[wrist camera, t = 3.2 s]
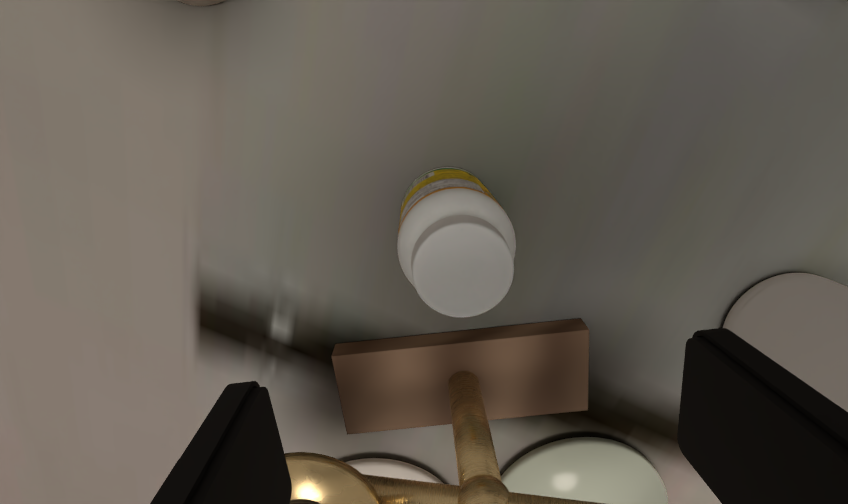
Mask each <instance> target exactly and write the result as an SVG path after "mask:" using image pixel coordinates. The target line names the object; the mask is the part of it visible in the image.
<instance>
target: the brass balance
mask: <svg viewBox="0 0 848 504" xmlns="http://www.w3.org/2000/svg"><path fill="white" fill-rule="evenodd" d="M331 357H332V362H333V367H334V372H335V377H336V381H337V386H338V391H339V396H340V401H341V406H342V411H343V416H344V421H345V426H346V431H347V434H355V433H365V432H375V431H385V430H395V429H405V428H415V427H425V426H434V425H444V424H452V425H453V434H454V443H455V451H456V460H457V469H458V477H459V486H456V485H448V484H440V483H432V482H423V481H415V480H407V479H399V478H390V477H382V476H374V475H366V474H361V473H360V472H359V471H358V470H356V469H355V468H353V467H352V466H350V465H349V464H347V463H345V462H343V461H341V460H338V459H335V458H333V457H329V456H326V455H322V454H316V453H306V452H296V453H286V454H284V455H285V458H286V462H287V466H288V470H289V474H290V478H291V483H292V494H291V500H290V503H289V504H605V503H597V502H589V501H580V500H572V499H564V498H556V497H547V496H539V495H531V494H523V493H514V492H509V490H508V488H507V487H506V486H505V485H504V484H503V483H502V481H501V476H500V472H499V468H498V463H497V459H496V454H495V450H494V446H493V441H492V437H491V432H490V428H489V424H488V420H494V419H504V418H514V417H524V416H534V415H544V414H554V413H563V412H573V411H583V410H588V375H589V329H588V327H587V326H586V325H585V323H584V322H583V321H582V319H581V318H579V319H569V320H560V321H550V322H541V323H531V324H521V325H512V326H502V327H493V328H483V329H473V330H464V331H454V332H445V333H435V334H425V335H416V336H406V337H397V338H387V339H377V340H368V341H358V342H349V343H339V344H335V347H334V350H333V353H332V356H331Z"/></svg>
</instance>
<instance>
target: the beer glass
mask: <svg viewBox="0 0 848 504" xmlns="http://www.w3.org/2000/svg"><path fill="white" fill-rule="evenodd" d="M176 1H178V2H181V3H184V4H188V5H193V6H209V5H214V4H218V3H221V2H223V1H225V0H176Z"/></svg>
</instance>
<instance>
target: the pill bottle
mask: <svg viewBox="0 0 848 504" xmlns="http://www.w3.org/2000/svg"><path fill="white" fill-rule="evenodd" d="M723 328H726V329H728V330H730V331H732V332H733V333H735V334H736V335H737V336H739V337H740V338H742V339H743V340H745V341H746V342H747V343H749V344H750V345H752V346H753V347H755V348H756V349H758V350H759V351H760V352H762V353H763V354H765V355H766V356H768V357H769V358H770V359H772V360H773V361H775V362H776V363H778V364H779V365H781V366H782V367H783V368H785V369H786V370H788V371H789V372H791V373H792V374H794V375H795V376H796V377H798V378H799V379H801V380H802V381H804V382H805V383H806V384H808V385H809V386H811V387H812V388H814V389H815V390H817V391H818V392H819V393H821V394H822V395H824V396H825V397H827V398H828V399H829V400H831V401H832V402H834V403H835V404H837V405H838V406H840V407H841V408H842V409H844V410H845V411H847V412H848V287H847V286H845V285H842V284H840V283H837V282H835V281H833V280H830V279H827V278H824V277H821V276H817V275H814V274H808V273H787V274H781V275H777V276H774V277H771V278H769V279H766V280H764V281H762V282H760V283H758V284H757V285H755V286H753V287H752V288H751V289H749V290H748V291H747V292H746V293H744V294H743V295H742V296H741V297H740V298H739V299H738V300H737V302H736V303H735V304H734V305H733V307H732V308H731V310H730V312H729V313H728V315H727V317H726V320H725V322H724V325H723Z"/></svg>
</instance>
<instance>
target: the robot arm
mask: <svg viewBox="0 0 848 504" xmlns="http://www.w3.org/2000/svg"><path fill="white" fill-rule="evenodd" d="M677 436H678V444H679V447H680V449H681V451H682V453H683V455H684V456H685V457H686V459H687V460H688V461H689V462H690V464H691V465H692V466H693V468H694V469H695V470H696V471H697V473H698V474H699V475H700V476H701V478H702V479H703V480H704V481H705V483H706V484H707V485H708V486H709V488H710V489H711V490H712V492H713V493H714V494H715V495H716V497H717V498H718V499H719V500H720V502H721V503H722V504H848V412H847V411H845V410H844V409H842V408H841V407H840V406H838V405H837V404H835V403H834V402H832V401H831V400H829V399H828V398H827V397H825V396H824V395H822V394H821V393H819V392H818V391H817V390H815V389H814V388H812V387H811V386H809V385H808V384H806V383H805V382H804V381H802V380H801V379H799V378H798V377H796V376H795V375H794V374H792V373H791V372H789V371H788V370H786V369H785V368H783V367H782V366H781V365H779V364H778V363H776V362H775V361H773V360H772V359H770V358H769V357H768V356H766V355H765V354H763V353H762V352H760V351H759V350H758V349H756V348H755V347H753V346H752V345H750V344H749V343H747V342H746V341H745V340H743V339H742V338H740V337H739V336H737V335H736V334H735V333H733V332H732V331H730V330H728V329H726V328H718V329H709V330H700V331H697V332H695V333H694V335H693V337H692V338H690V339H688V341H687V342H686V349H685V360H684V370H683V381H682V392H681V403H680V414H679V425H678V435H677ZM291 494H292V483H291V478H290V474H289V470H288V466H287V462H286V458H285V455H284V451H283V447H282V443H281V439H280V435H279V431H278V428H277V424H276V420H275V416H274V412H273V408H272V404H271V400H270V397H269V393H268V390H267V388H266V387H260V386H259V384H258V383H257V382H256V381H251V382H243V383H234V384H229V385H227V387H226V388H225V389H224V391H223V392H222V394H221V395H220V397H219V399H218V400H217V402H216V403H215V405H214V406H213V408H212V409H211V411H210V413H209V414H208V416H207V417H206V419H205V420H204V422H203V423H202V425H201V427H200V428H199V430H198V431H197V433H196V434H195V436H194V437H193V439H192V441H191V442H190V444H189V445H188V447H187V448H186V450H185V451H184V453H183V454H182V456H181V458H180V459H179V460H178V461H177V463H176V464H175V466H174V468H173V469H172V471H171V472H170V474H169V475H168V477H167V478H166V480H165V482H164V483H163V485H162V486H161V488H160V489H159V491H158V492H157V494H156V495H155V497H154V499H153V500H152V502H151V503H150V504H289V503H290V500H291Z"/></svg>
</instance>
